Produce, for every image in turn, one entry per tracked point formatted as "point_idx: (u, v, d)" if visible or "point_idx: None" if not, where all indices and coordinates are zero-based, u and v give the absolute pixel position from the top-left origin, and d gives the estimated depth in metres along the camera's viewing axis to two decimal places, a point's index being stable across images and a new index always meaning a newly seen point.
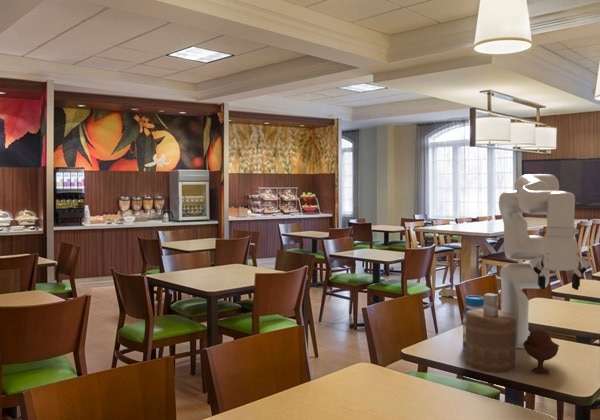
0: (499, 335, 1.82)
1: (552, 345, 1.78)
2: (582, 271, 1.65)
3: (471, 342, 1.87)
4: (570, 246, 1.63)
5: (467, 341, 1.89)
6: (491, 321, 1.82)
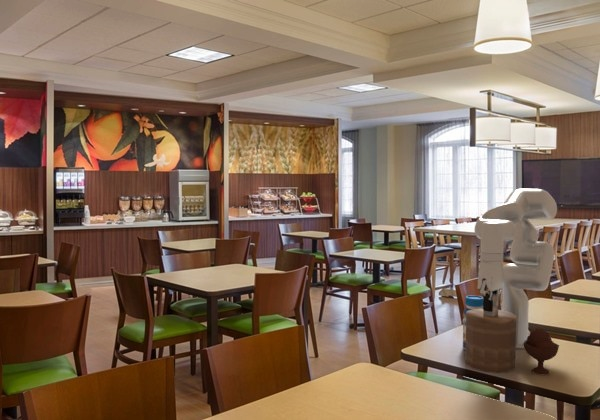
0: (499, 335, 1.82)
1: (552, 345, 1.78)
2: None
3: (471, 342, 1.87)
4: (501, 268, 1.88)
5: (467, 341, 1.89)
6: (491, 321, 1.82)
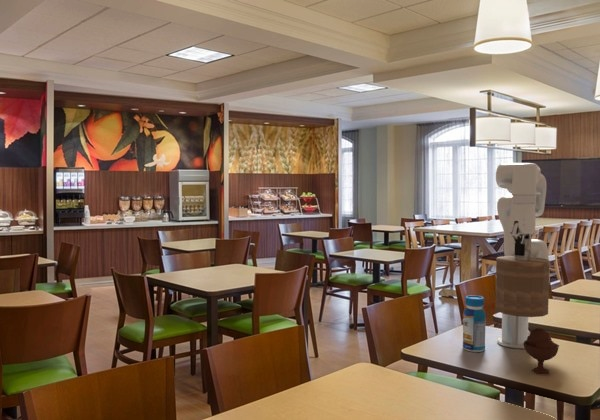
0: (532, 278, 1.76)
1: (552, 345, 1.78)
2: None
3: (502, 287, 1.81)
4: (533, 211, 1.82)
5: (498, 287, 1.83)
6: (523, 264, 1.76)
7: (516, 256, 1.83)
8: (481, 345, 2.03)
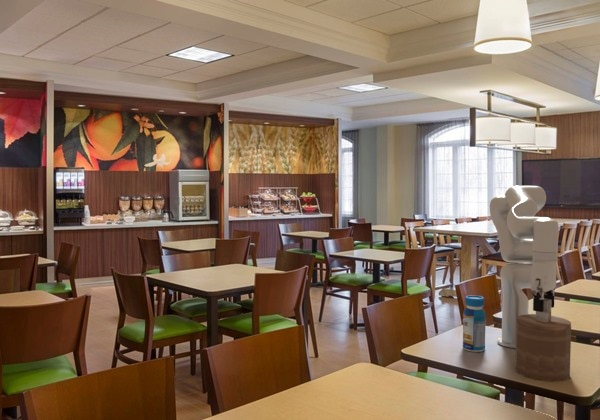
0: (555, 343, 1.74)
1: None
2: (553, 290, 1.84)
3: (524, 349, 1.79)
4: (554, 268, 1.80)
5: (519, 348, 1.81)
6: (546, 328, 1.74)
7: (537, 317, 1.81)
8: (481, 345, 2.03)
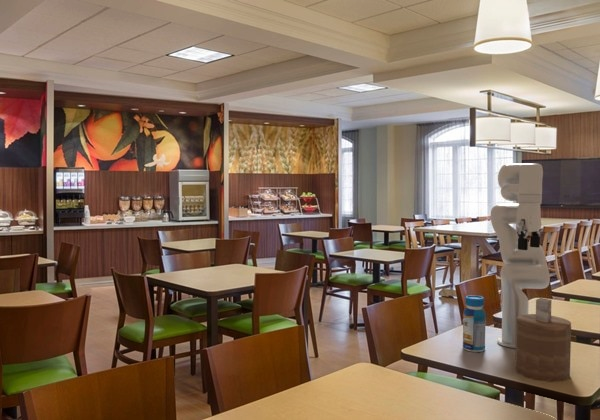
0: (555, 343, 1.74)
1: None
2: (539, 231, 1.94)
3: (524, 349, 1.79)
4: (539, 210, 1.89)
5: (519, 348, 1.81)
6: (546, 328, 1.74)
7: (537, 317, 1.81)
8: (481, 345, 2.03)
